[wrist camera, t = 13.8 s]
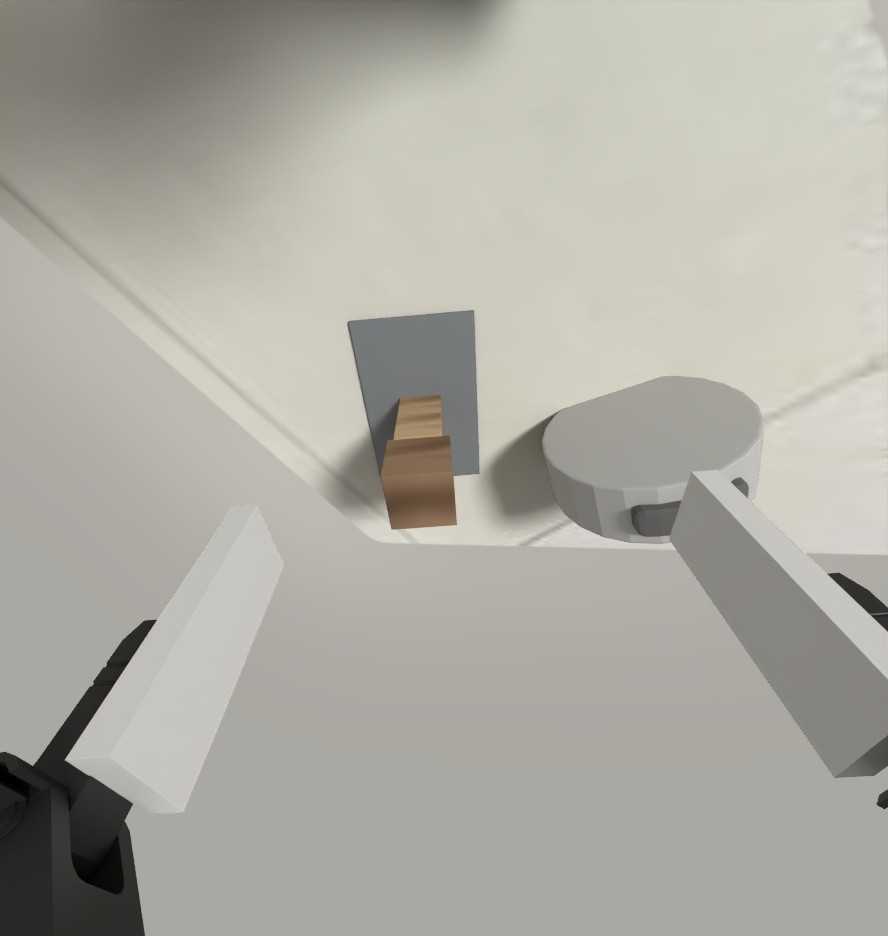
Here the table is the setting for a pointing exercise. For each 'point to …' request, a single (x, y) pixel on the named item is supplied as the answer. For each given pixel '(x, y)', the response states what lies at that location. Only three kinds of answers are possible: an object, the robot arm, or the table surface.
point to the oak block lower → (420, 405)
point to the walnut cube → (419, 482)
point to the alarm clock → (649, 453)
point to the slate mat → (421, 376)
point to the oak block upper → (418, 426)
